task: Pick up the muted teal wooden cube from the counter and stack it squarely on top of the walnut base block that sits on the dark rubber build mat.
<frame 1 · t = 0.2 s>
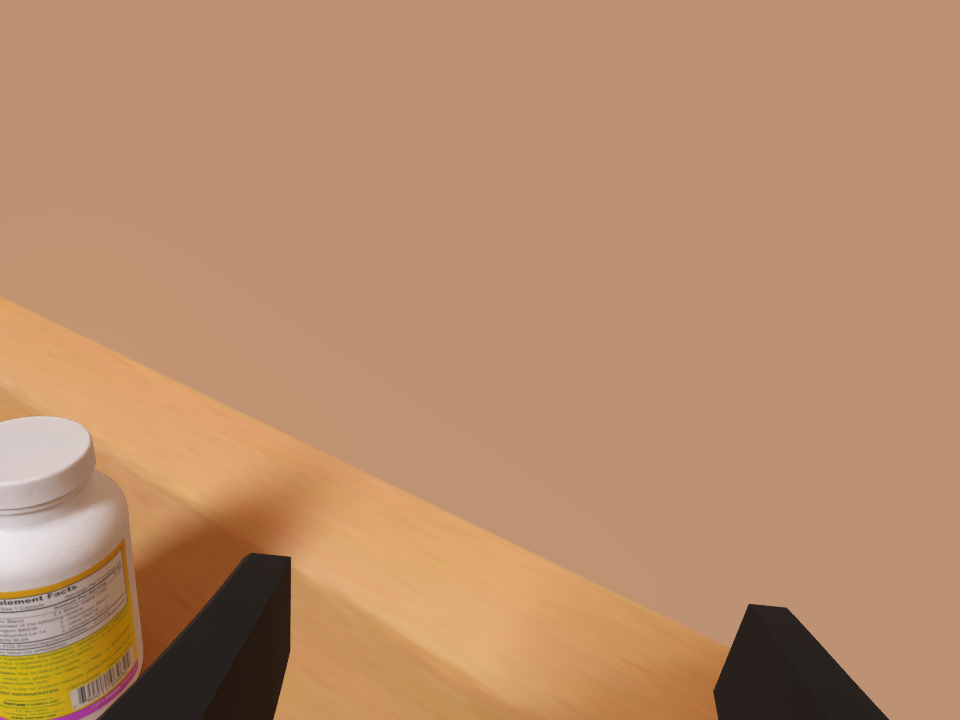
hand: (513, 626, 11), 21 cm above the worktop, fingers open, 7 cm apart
supplement bottle: (65, 684, 33), on the worktop
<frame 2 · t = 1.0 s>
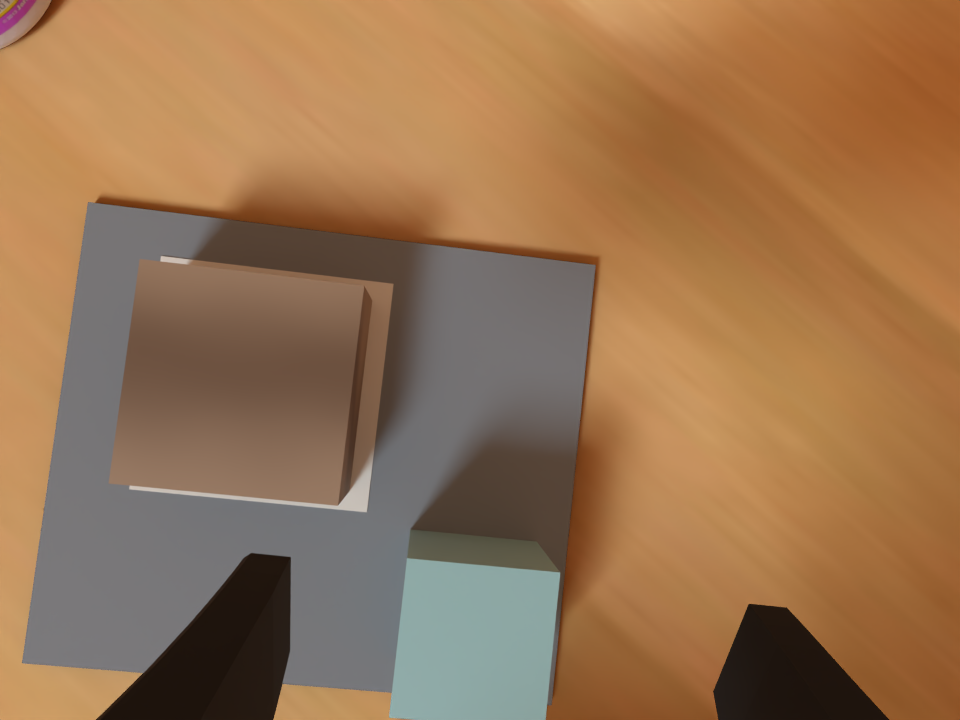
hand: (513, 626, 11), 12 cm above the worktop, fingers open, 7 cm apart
teal cube: (466, 599, 22), resting on build mat
walnut base block: (264, 384, 22), resting on build mat
build mat: (322, 454, 23), on the worktop
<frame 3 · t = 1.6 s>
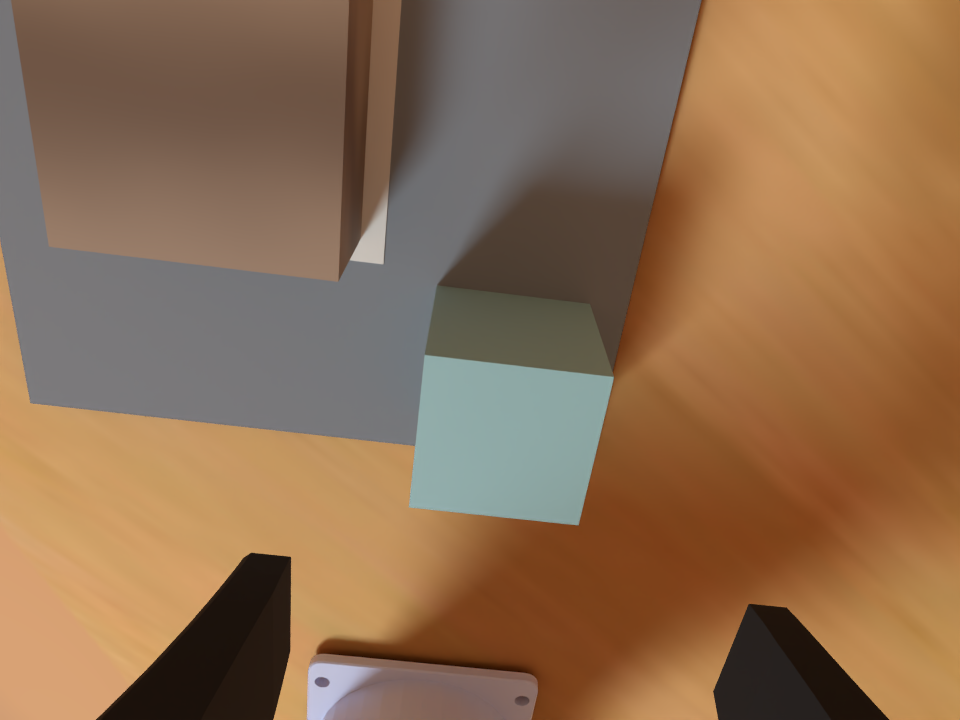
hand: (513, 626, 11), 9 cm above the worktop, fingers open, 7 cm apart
teal cube: (503, 362, 19), resting on build mat
walnut base block: (235, 96, 16), resting on build mat
build mat: (324, 190, 18), on the worktop
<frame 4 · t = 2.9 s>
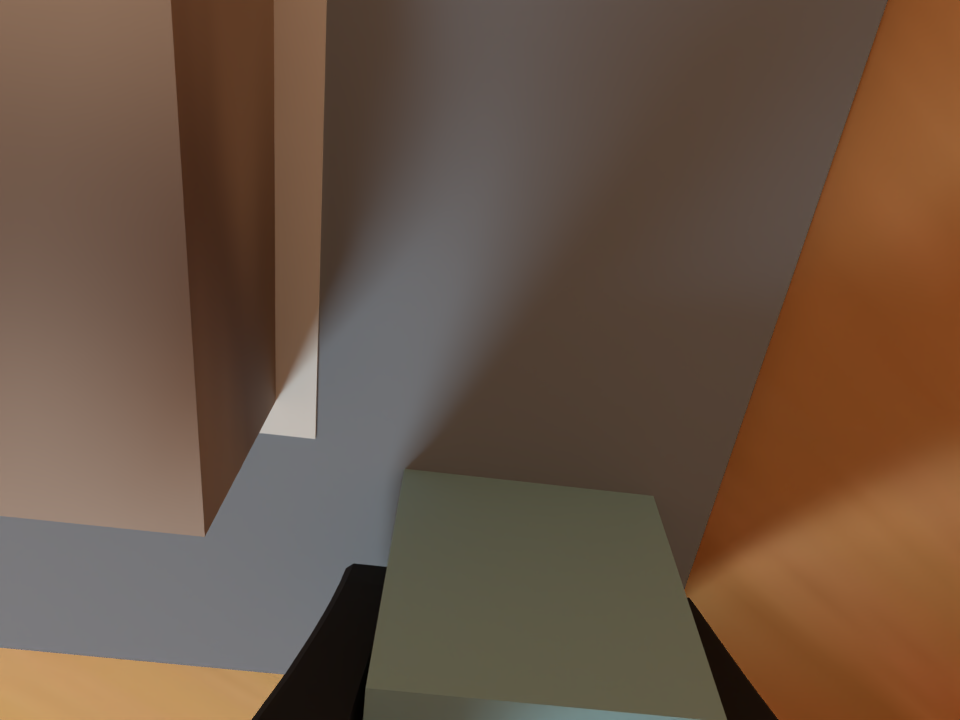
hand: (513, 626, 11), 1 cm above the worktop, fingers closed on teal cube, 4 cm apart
teal cube: (511, 576, 12), resting on build mat, touching gripper
walnut base block: (39, 174, 9), resting on build mat
build mat: (212, 323, 10), on the worktop
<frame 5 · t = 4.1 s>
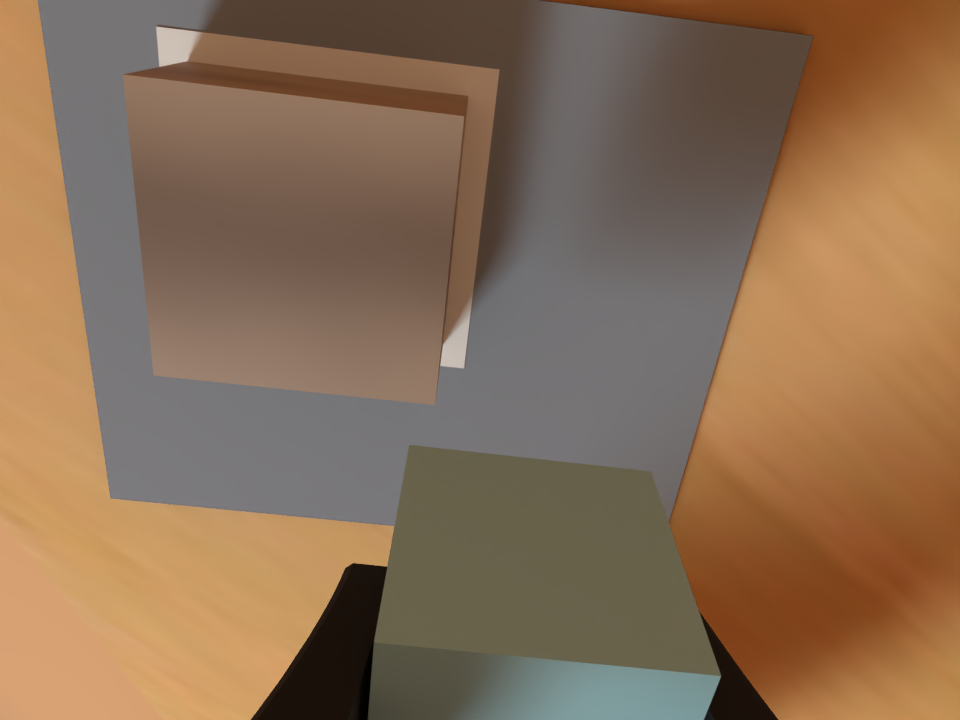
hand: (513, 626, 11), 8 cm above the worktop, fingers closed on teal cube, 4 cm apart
teal cube: (513, 551, 13), point 7 cm above the worktop, touching gripper
walnut base block: (326, 215, 17), resting on build mat
build mat: (407, 299, 18), on the worktop
when the fingers open (5 cm above the worktop, at t = 5.4 s): teal cube stays where it is, resting on walnut base block.
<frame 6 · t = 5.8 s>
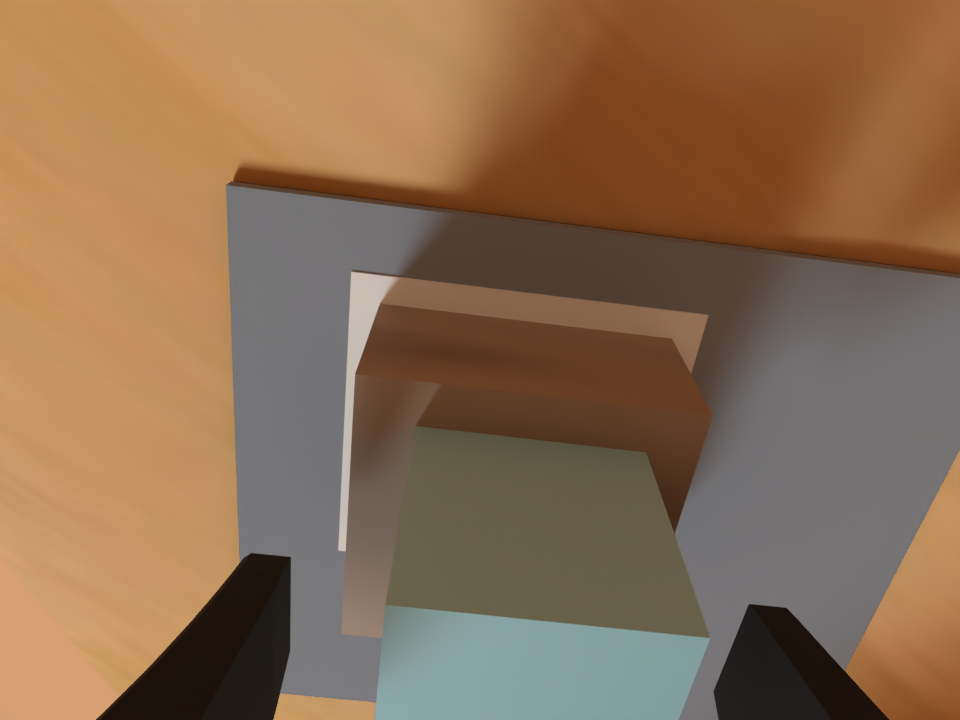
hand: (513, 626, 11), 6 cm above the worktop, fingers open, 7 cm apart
teal cube: (514, 529, 13), point 3 cm above the worktop, touching walnut base block
walnut base block: (506, 443, 16), resting on build mat, touching teal cube
build mat: (576, 514, 17), on the worktop
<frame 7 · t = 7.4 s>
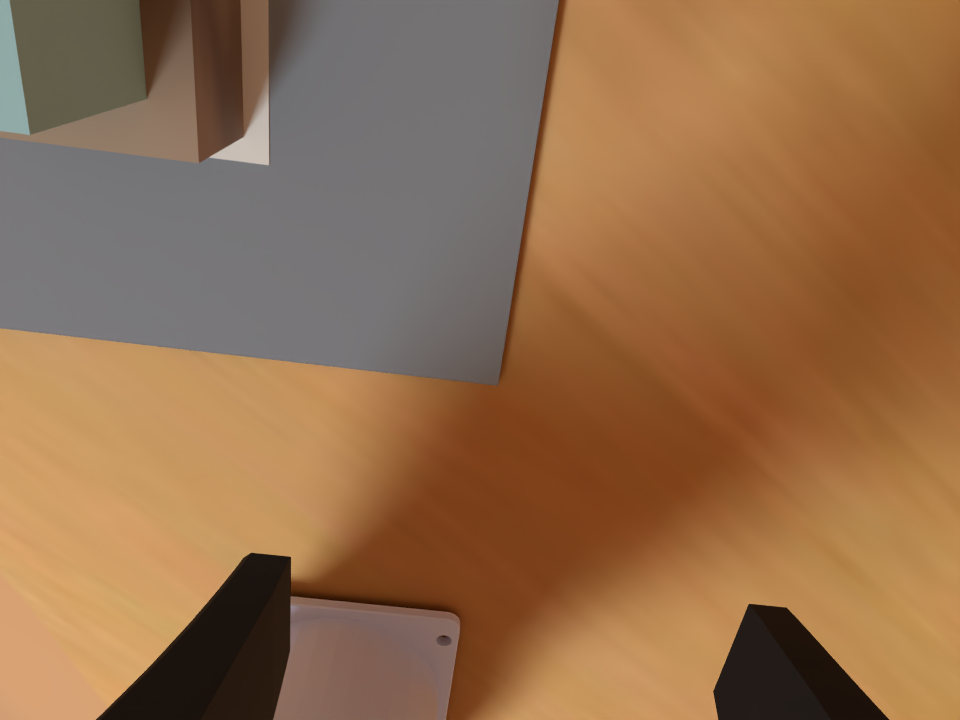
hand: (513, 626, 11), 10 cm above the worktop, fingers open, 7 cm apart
build mat: (204, 85, 17), on the worktop
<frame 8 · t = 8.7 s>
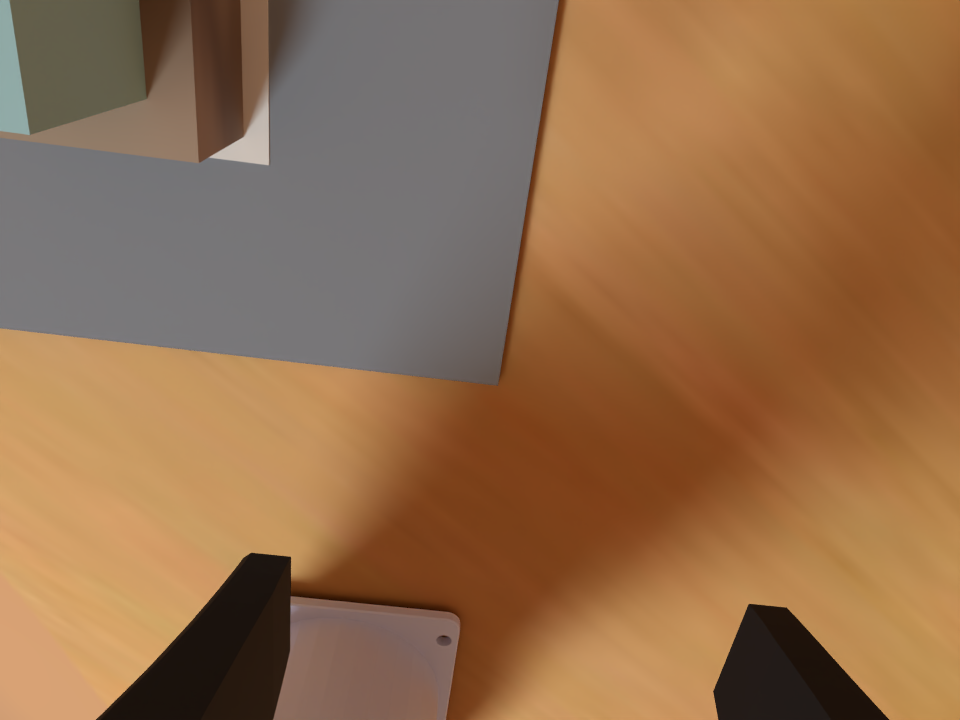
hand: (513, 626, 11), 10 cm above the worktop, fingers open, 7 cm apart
build mat: (204, 85, 17), on the worktop
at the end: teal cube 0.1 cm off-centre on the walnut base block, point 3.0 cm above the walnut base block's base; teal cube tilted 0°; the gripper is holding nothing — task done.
